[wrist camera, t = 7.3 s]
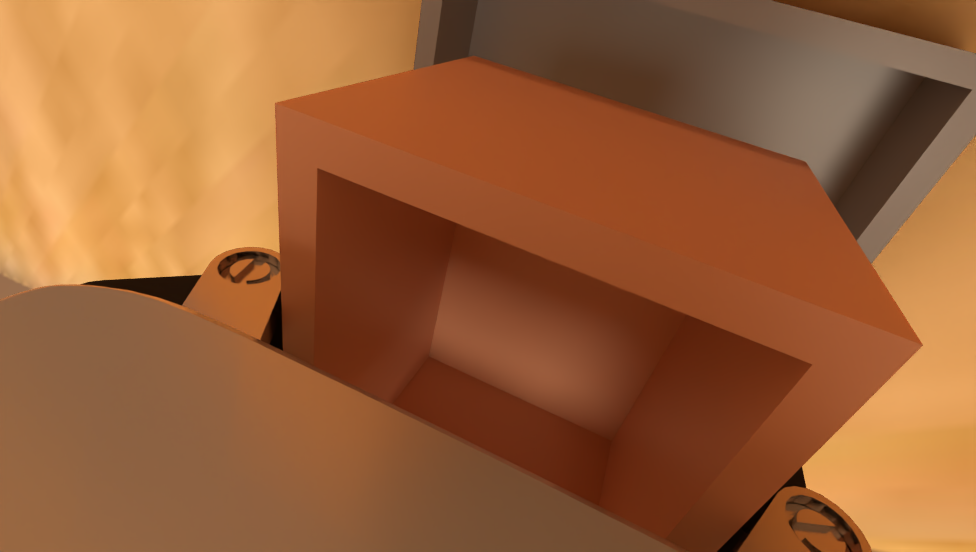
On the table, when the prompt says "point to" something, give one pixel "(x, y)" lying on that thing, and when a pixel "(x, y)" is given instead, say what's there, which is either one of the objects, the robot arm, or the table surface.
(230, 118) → the table surface
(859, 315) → the crate small
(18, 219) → the table surface
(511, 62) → the tray
